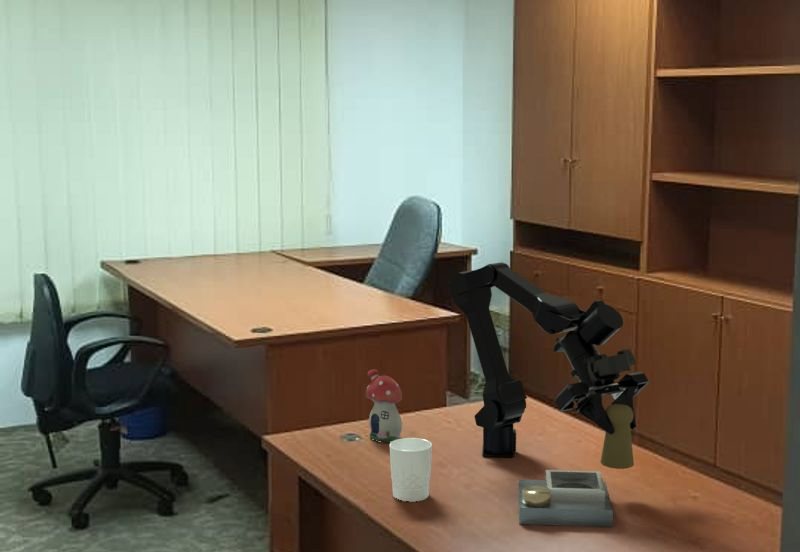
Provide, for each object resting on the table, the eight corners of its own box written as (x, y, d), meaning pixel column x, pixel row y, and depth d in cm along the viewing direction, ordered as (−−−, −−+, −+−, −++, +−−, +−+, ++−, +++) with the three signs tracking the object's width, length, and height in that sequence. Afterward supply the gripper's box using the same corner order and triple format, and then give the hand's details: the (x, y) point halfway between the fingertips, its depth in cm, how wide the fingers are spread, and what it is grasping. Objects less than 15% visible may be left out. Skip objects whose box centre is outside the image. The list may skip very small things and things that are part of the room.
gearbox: (519, 524, 184) (519, 496, 183) (518, 494, 198) (518, 469, 197) (612, 527, 183) (613, 499, 182) (605, 497, 196) (605, 471, 196)
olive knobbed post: (596, 458, 198) (598, 401, 196) (627, 456, 199) (630, 400, 197) (605, 469, 192) (608, 411, 190) (638, 468, 193) (640, 410, 191)
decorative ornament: (361, 434, 235) (360, 368, 232) (386, 429, 238) (385, 364, 236) (382, 445, 227) (382, 378, 224) (408, 440, 230) (408, 373, 228)
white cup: (437, 490, 200) (437, 440, 199) (424, 505, 193) (424, 453, 191) (398, 486, 203) (397, 436, 201) (384, 500, 196) (383, 448, 194)
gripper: (567, 341, 190) (607, 417, 183) (644, 330, 200) (685, 401, 192) (539, 374, 198) (575, 447, 191) (613, 361, 208) (651, 430, 200)
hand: (623, 430), depth 193 cm, fingers closed on olive knobbed post, 5 cm apart
